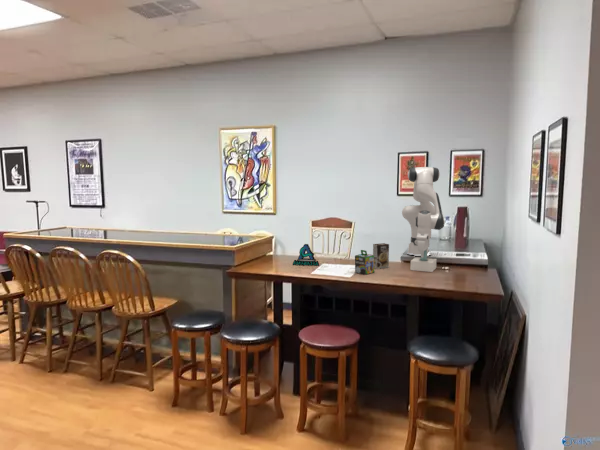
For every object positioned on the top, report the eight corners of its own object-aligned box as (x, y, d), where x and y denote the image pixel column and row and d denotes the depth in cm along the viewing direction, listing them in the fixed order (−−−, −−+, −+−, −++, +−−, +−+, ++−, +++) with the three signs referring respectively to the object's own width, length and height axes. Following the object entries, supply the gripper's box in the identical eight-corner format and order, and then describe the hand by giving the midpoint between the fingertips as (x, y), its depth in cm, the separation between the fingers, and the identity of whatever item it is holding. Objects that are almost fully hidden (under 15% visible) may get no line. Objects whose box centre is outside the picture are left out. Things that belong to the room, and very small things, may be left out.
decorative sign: (319, 265, 291) (319, 244, 289) (318, 266, 289) (318, 244, 287) (293, 264, 296) (293, 243, 294) (292, 265, 293) (292, 244, 292)
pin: (421, 264, 277) (421, 250, 276) (427, 265, 275) (427, 250, 274) (419, 265, 274) (420, 251, 273) (426, 266, 272) (426, 251, 271)
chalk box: (374, 272, 266) (374, 249, 265) (365, 275, 260) (365, 251, 259) (363, 270, 273) (363, 248, 272) (354, 272, 267) (354, 250, 266)
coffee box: (377, 268, 277) (377, 245, 275) (372, 267, 283) (372, 243, 281) (389, 267, 280) (389, 244, 278) (383, 265, 286) (384, 242, 284)
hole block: (415, 265, 284) (415, 257, 284) (436, 267, 278) (436, 258, 277) (410, 270, 272) (410, 261, 271) (432, 272, 265) (432, 262, 265)
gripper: (422, 233, 283) (422, 253, 284) (415, 237, 265) (415, 258, 267) (432, 233, 280) (431, 253, 282) (426, 237, 262) (425, 259, 264)
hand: (423, 256), depth 274 cm, fingers open, 8 cm apart
